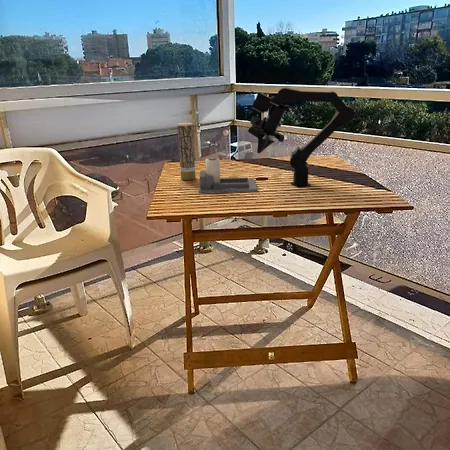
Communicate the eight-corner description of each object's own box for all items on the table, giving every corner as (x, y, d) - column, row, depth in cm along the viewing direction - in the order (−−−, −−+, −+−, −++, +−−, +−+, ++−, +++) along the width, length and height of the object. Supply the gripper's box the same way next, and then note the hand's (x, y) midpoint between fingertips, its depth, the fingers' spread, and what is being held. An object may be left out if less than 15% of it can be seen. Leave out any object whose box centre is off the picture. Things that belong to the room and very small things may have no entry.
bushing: (220, 182, 173) (219, 156, 169) (220, 186, 167) (219, 159, 163) (206, 182, 173) (205, 156, 169) (206, 186, 167) (205, 160, 163)
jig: (253, 180, 178) (253, 167, 176) (257, 191, 163) (257, 177, 161) (200, 182, 178) (199, 169, 176) (198, 193, 163) (197, 178, 161)
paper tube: (193, 181, 180) (190, 124, 171) (179, 180, 181) (175, 124, 172) (197, 177, 186) (194, 122, 177) (183, 176, 188) (179, 122, 178)
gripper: (273, 113, 173) (258, 146, 180) (246, 106, 159) (231, 142, 166) (292, 124, 168) (276, 157, 174) (266, 118, 154) (249, 154, 160)
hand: (258, 152), depth 168 cm, fingers closed
